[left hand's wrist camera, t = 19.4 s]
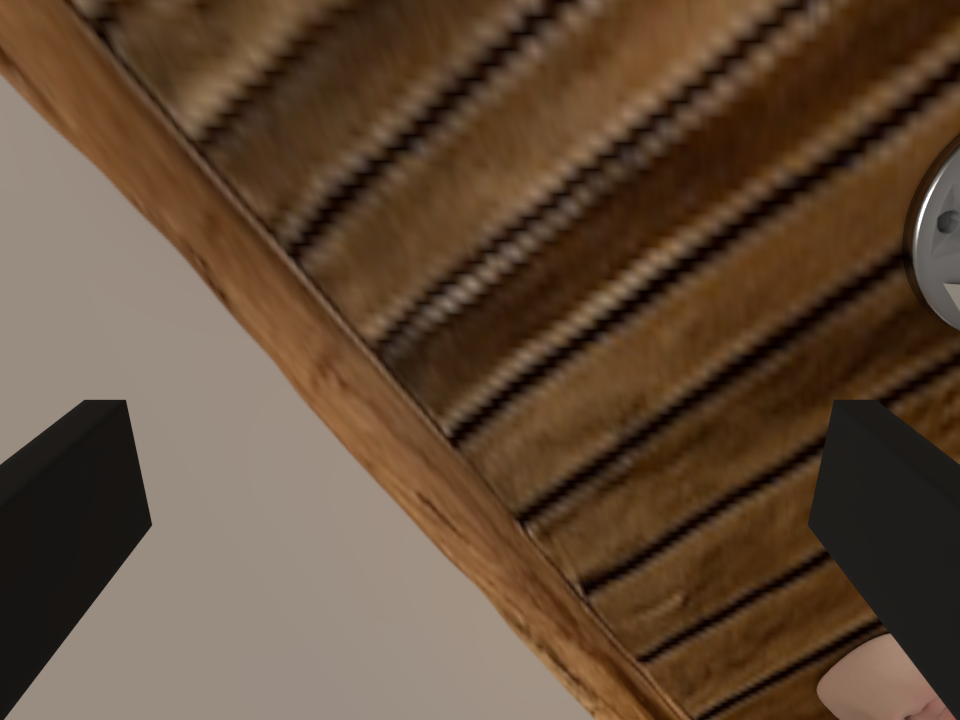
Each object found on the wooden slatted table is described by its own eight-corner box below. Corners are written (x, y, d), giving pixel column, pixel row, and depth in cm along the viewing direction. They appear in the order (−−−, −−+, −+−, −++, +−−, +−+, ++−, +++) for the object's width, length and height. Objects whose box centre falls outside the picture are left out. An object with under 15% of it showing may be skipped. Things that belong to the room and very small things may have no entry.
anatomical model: (818, 751, 54) (900, 646, 50) (796, 709, 57) (871, 608, 54) (959, 792, 56) (1049, 694, 52) (929, 749, 59) (1011, 654, 55)
